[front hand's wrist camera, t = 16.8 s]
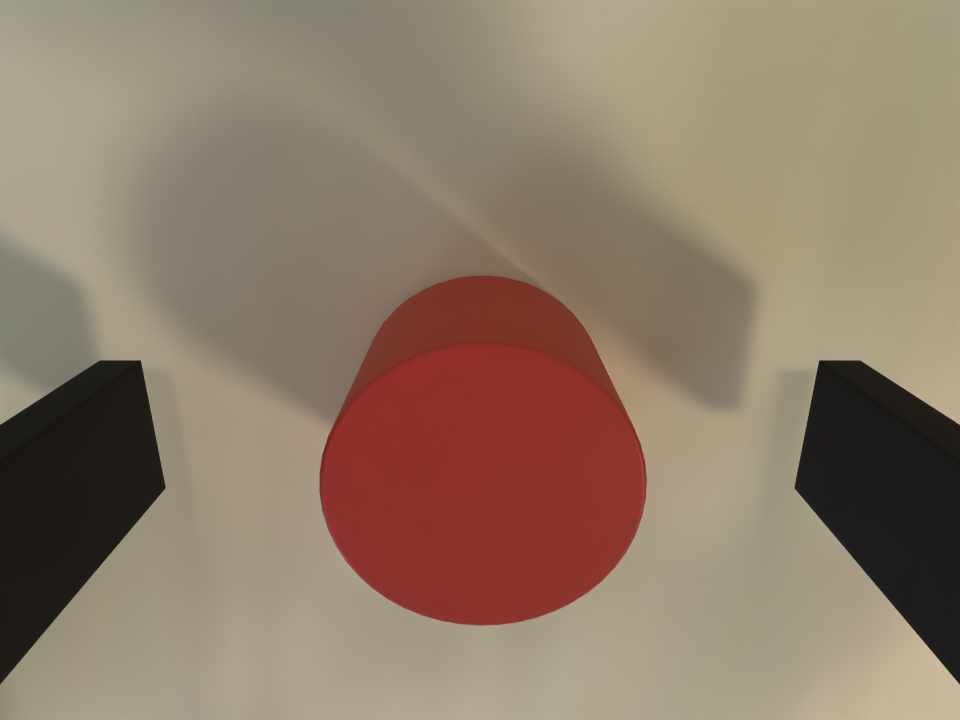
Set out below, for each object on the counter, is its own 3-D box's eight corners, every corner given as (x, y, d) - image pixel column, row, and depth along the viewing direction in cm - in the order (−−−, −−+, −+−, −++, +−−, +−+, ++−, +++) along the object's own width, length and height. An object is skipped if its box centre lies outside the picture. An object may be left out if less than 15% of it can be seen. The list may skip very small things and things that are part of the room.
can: (462, 223, 12) (455, 270, 9) (652, 375, 14) (717, 476, 10) (316, 408, 14) (255, 519, 10) (498, 532, 15) (504, 674, 11)
